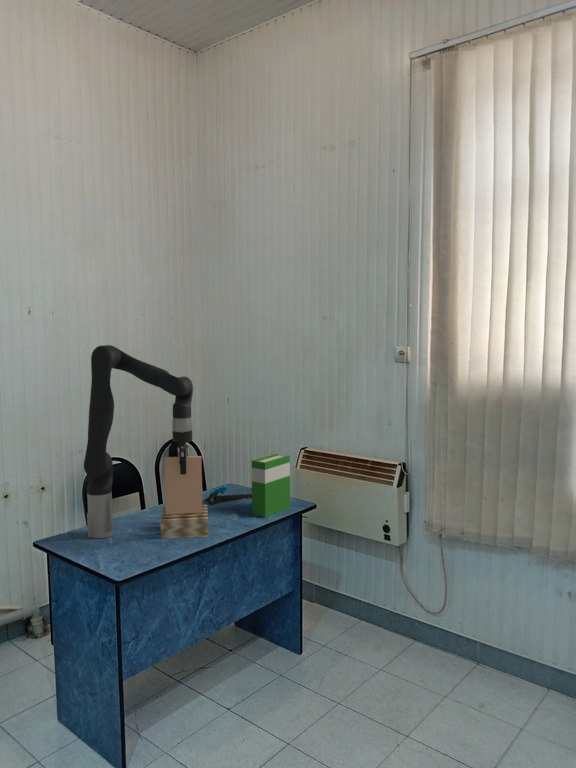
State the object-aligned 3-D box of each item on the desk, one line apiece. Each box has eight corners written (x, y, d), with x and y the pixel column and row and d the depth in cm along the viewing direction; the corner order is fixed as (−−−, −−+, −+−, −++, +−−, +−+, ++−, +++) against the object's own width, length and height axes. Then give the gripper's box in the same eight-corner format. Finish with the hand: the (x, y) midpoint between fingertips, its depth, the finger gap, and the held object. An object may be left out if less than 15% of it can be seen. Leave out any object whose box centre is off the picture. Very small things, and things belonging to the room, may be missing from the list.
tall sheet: (165, 514, 246) (164, 458, 244) (165, 513, 248) (164, 457, 245) (202, 512, 248) (201, 456, 246) (202, 511, 250) (201, 456, 247)
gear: (222, 492, 307) (228, 481, 300) (228, 503, 304) (234, 492, 297) (202, 500, 300) (208, 489, 293) (208, 510, 298) (214, 499, 291)
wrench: (266, 502, 303) (207, 507, 288) (261, 500, 308) (203, 505, 293) (266, 491, 303) (207, 496, 288) (261, 489, 308) (203, 494, 293)
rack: (160, 542, 244) (160, 520, 244) (163, 526, 263) (162, 506, 262) (208, 539, 247) (207, 518, 246) (207, 524, 266) (207, 504, 265)
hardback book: (276, 505, 292) (276, 453, 289) (289, 508, 288) (289, 455, 285) (252, 514, 278) (251, 460, 275) (265, 518, 274) (264, 463, 271)
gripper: (173, 426, 250) (174, 469, 252) (171, 432, 237) (172, 478, 239) (192, 425, 252) (193, 469, 253) (192, 432, 238) (193, 477, 240)
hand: (183, 473), depth 246 cm, fingers closed on tall sheet, 1 cm apart
